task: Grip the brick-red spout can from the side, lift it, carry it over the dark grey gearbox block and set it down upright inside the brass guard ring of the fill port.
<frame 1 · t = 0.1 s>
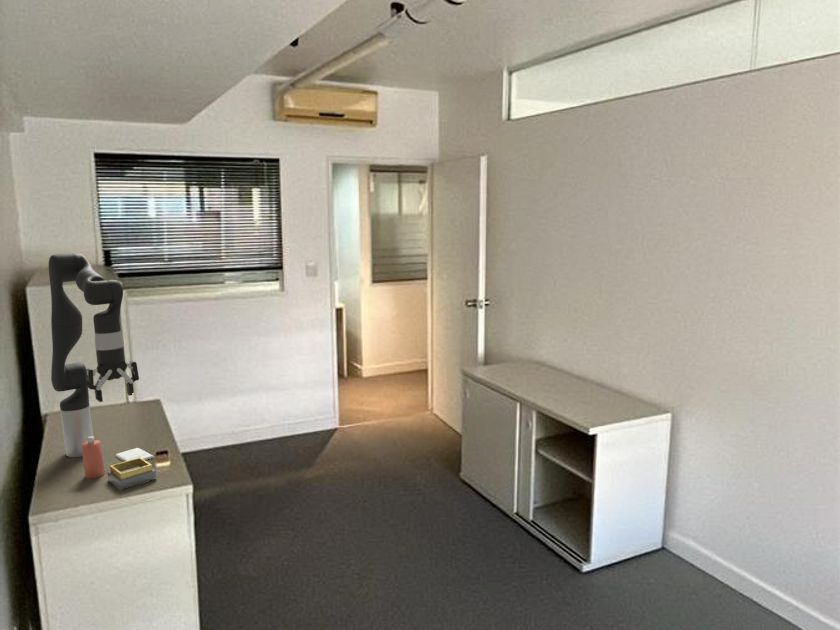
hand: (115, 398, 187), 29 cm above the table, tool pointing down, fingers open, 8 cm apart
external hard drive: (135, 459, 217), on the table
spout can: (94, 474, 202), on the table
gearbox: (132, 479, 197), on the table
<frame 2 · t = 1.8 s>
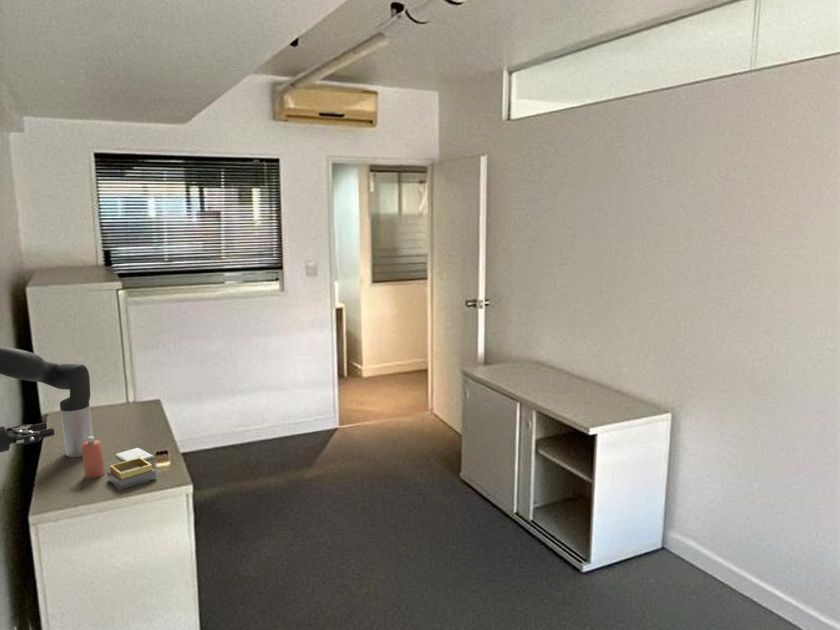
hand: (50, 428, 192), 19 cm above the table, tool horizontal, fingers open, 8 cm apart
nothing on the table moved.
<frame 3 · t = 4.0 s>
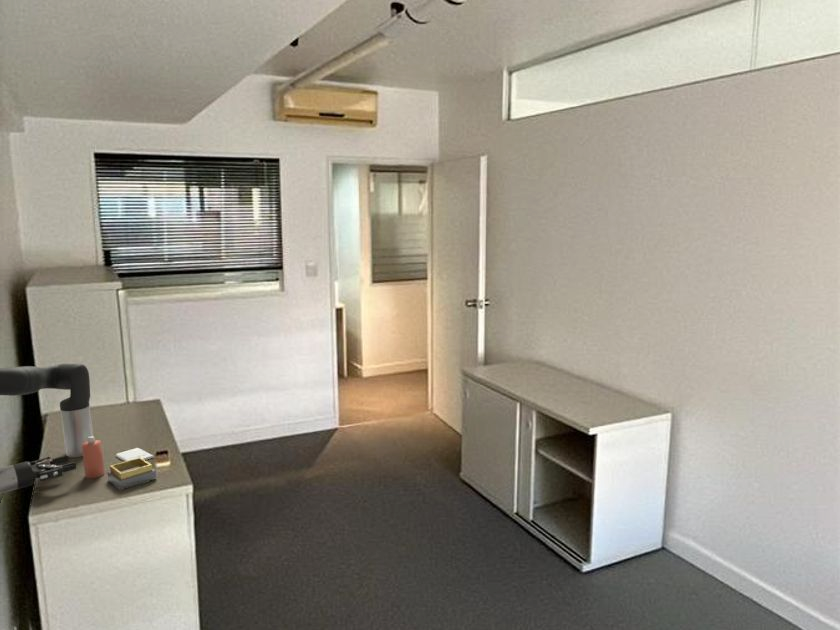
hand: (71, 461, 197), 6 cm above the table, tool horizontal, fingers open, 8 cm apart
nothing on the table moved.
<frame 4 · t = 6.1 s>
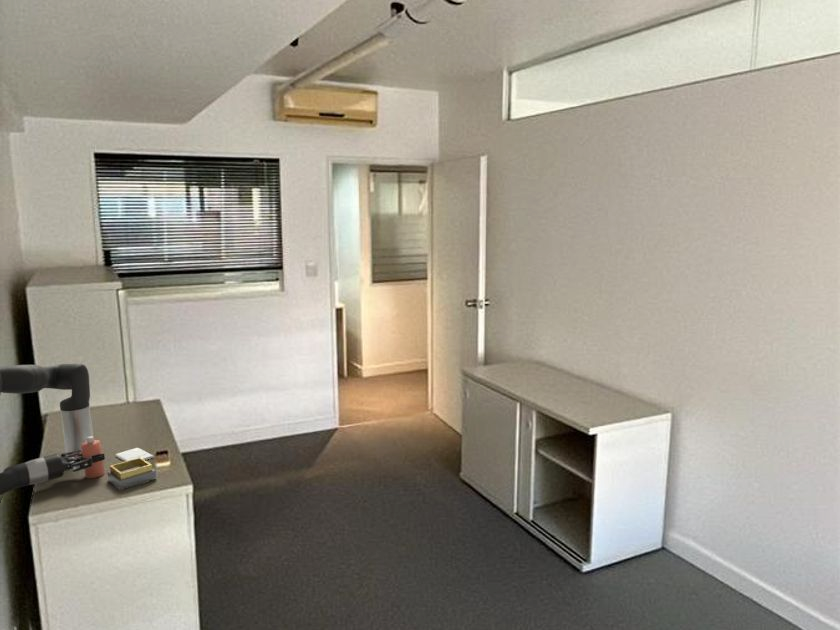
hand: (100, 453, 203), 7 cm above the table, tool horizontal, fingers closed on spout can, 5 cm apart
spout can: (94, 474, 202), on the table, touching gripper
everything else where it was.
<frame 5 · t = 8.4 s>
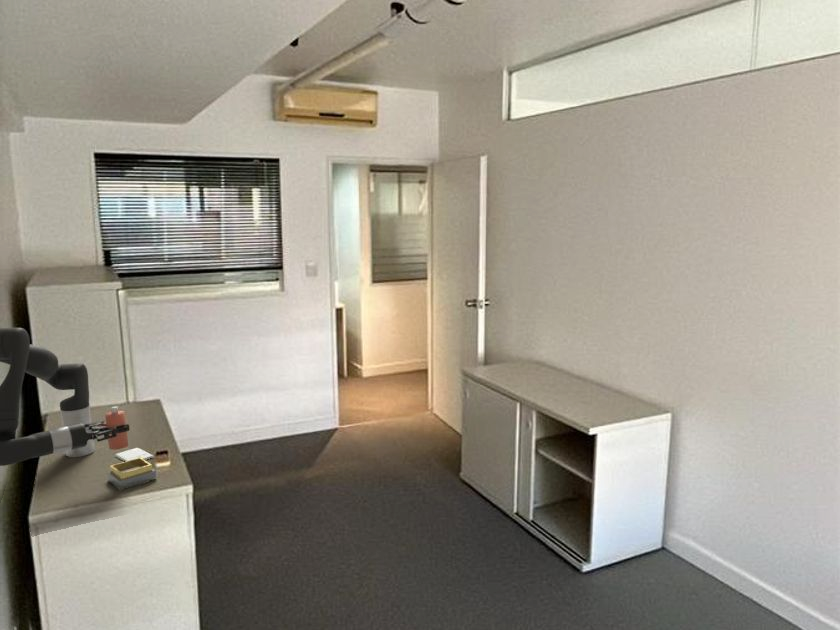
hand: (125, 425, 197), 18 cm above the table, tool horizontal, fingers closed on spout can, 5 cm apart
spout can: (118, 446, 196), point 11 cm above the table, touching gripper
everything else where it was.
when the fingers open (11 cm above the table, at t = 10.8 s): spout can drops 1 cm, resting on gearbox.
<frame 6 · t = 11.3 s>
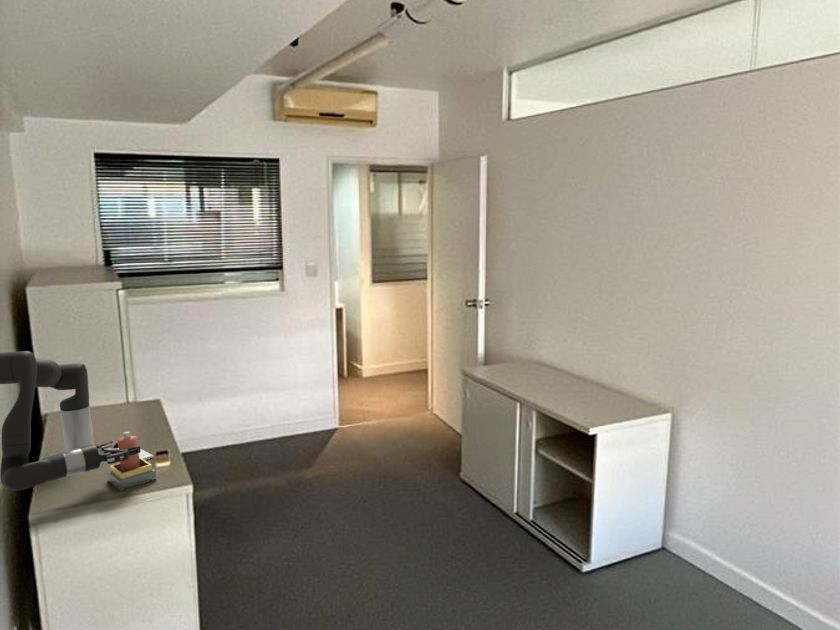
hand: (135, 445, 197), 11 cm above the table, tool horizontal, fingers open, 8 cm apart
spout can: (130, 471, 197), point 3 cm above the table, touching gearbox
everything else where it was.
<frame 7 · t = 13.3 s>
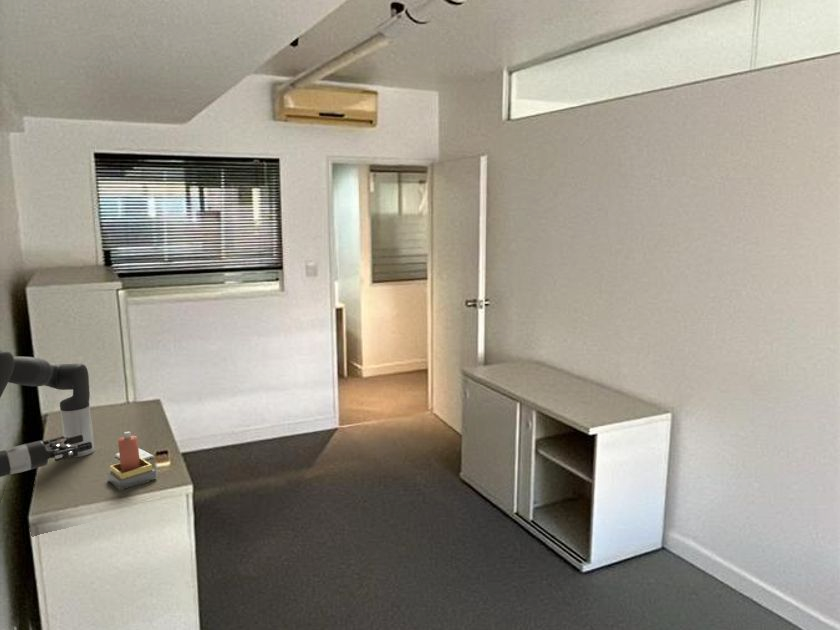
hand: (86, 441, 187), 16 cm above the table, tool horizontal, fingers open, 8 cm apart
nothing on the table moved.
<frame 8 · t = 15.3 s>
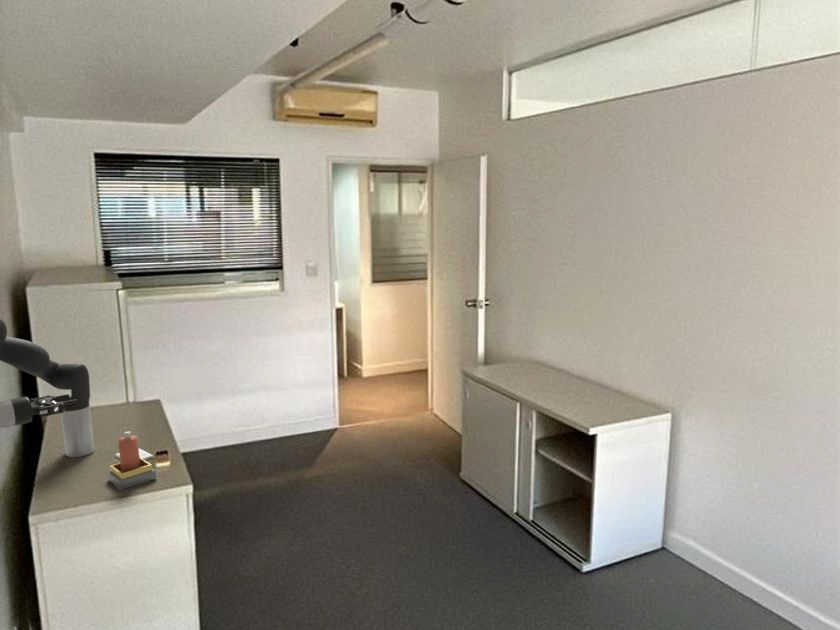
hand: (73, 400, 183), 30 cm above the table, tool horizontal, fingers open, 8 cm apart
nothing on the table moved.
at the end: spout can 0.2 cm off-centre on the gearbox, point 3.0 cm above the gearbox's base; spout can tilted 1°; the gripper is holding nothing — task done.
